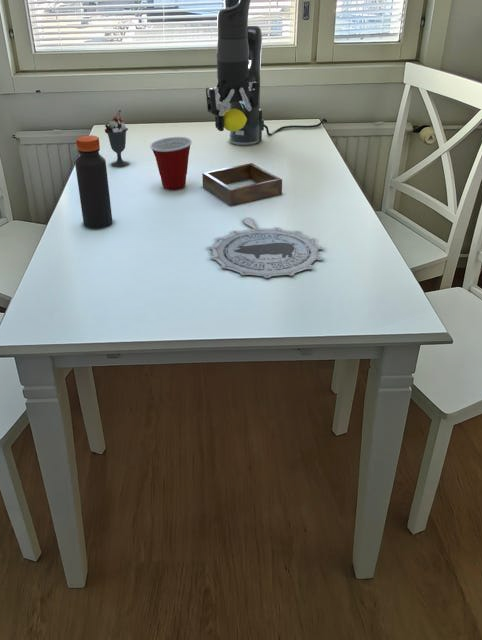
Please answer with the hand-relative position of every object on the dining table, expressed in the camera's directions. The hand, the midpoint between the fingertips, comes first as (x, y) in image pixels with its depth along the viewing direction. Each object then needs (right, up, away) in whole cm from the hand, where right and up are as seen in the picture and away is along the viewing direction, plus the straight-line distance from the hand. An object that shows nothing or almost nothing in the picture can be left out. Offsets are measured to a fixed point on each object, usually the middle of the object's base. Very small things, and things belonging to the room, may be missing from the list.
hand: (233, 127), depth 160 cm
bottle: (-32, -26, -11) cm, 43 cm away
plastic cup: (-16, -13, +9) cm, 22 cm away
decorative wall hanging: (+6, -33, -23) cm, 41 cm away
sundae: (-32, -3, +25) cm, 41 cm away
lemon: (0, -1, +1) cm, 1 cm away
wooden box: (+2, -15, +5) cm, 16 cm away
